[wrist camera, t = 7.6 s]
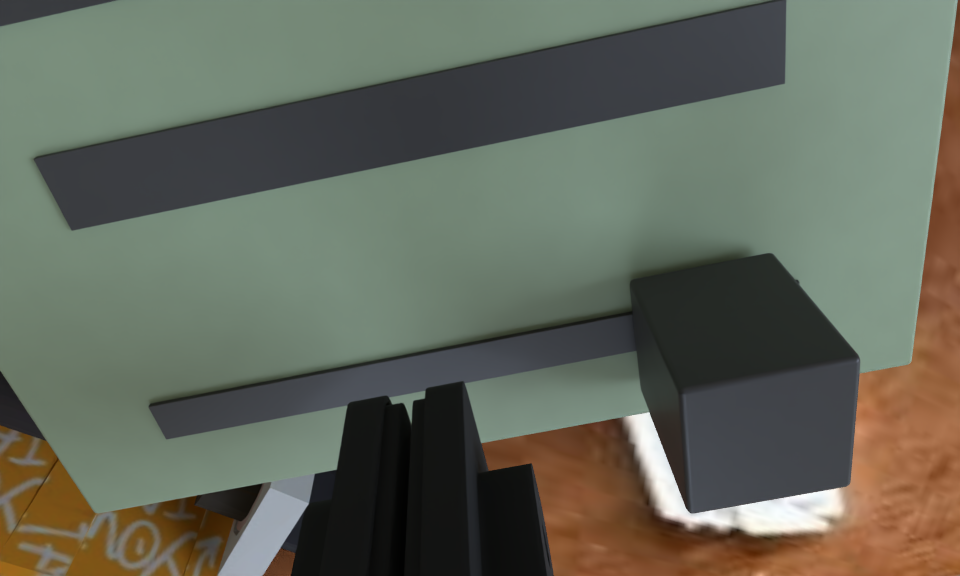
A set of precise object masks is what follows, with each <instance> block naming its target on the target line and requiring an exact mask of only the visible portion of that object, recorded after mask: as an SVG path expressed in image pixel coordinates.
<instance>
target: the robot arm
mask: <svg viewBox="0 0 960 576" xmlns="http://www.w3.org/2000/svg"><path fill="white" fill-rule="evenodd" d="M291 576H554V575H553V568H552V562H551V556H550V550H549V544H548V538H547V532H546V527H545V522H544V516H543V511H542V506H541V502H540V497H539V492H538V488H537V483H536V479H535V475H534V470H533V466H532V464H526V465H520V466H515V467H509V468H503V469H498V470H492V471H488V467H487V463H486V459H485V456H484V452H483V448H482V444H481V441H480V437H479V433H478V429H477V426H476V422H475V418H474V414H473V411H472V407H471V403H470V399H469V396H468V392H467V388H466V385H465V383H464V381H460V382H455V383H450V384H444V385H439V386H434V387H428V388H426V390H425V398H424V399H419V400H414V401H413V405H412V425H411V422H410V419H409V415H408V412H407V409H406V407H405V405H404V403H397V404H392V403H391V400H390V398H389V397H388V396H386V395H385V396H380V397H375V398H369V399H364V400H359V401H353V402H350V403H349V404H348V406H347V410H346V416H345V422H344V428H343V434H342V440H341V446H340V452H339V458H338V464H337V470H336V476H335V482H334V489H333V495H332V499H330V500H324V501H319V502H313V503H309V505H308V506H307V507H306V509H305V512H304V516H303V519H302V524H301V529H300V534H299V539H298V544H297V549H296V554H295V559H294V564H293V568H292V573H291Z"/></svg>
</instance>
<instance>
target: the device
mask: <svg viewBox="0 0 960 576" xmlns="http://www.w3.org/2000/svg"><path fill="white" fill-rule="evenodd" d="M335 476H336V470H332V471H327V472H321V473H316V474H310V475H305V476H299V477H294V478H289V479H283V480H278V481H272V482H267V483H261V484H256V485H251V486H245V487H240V488H234V489H229V490H223V491H218V492H212V493H207V494H202V495H196V496H191V497H185V498H180V499H174V500H169V501H164V502H158V503H153V504H147V505H142V506H136V507H131V508H126V509H120V510H115V511H109V512H104V513H95V512H94V511H93V510H92V508H91V507H90V505H89V504H88V502H87V501H86V499H85V498H84V496H83V495H82V493H81V492H80V490H79V489H78V487H77V486H76V484H75V483H74V481H73V480H72V478H71V477H70V475H69V474H68V472H67V471H66V469H65V468H64V466H63V465H62V463H61V462H60V460H59V459H58V457H57V456H56V454H55V453H54V451H53V450H52V448H51V447H50V445H49V443H48V442H47V440H46V439H45V437H44V436H43V434H42V433H41V431H40V430H39V428H38V427H37V425H36V424H35V422H34V421H33V419H32V418H31V416H30V415H29V413H28V412H27V410H26V409H25V407H24V406H23V404H22V403H21V401H20V400H19V398H18V397H17V395H16V394H15V392H14V391H13V389H12V388H11V386H10V385H9V383H8V382H7V380H6V379H5V377H4V376H3V374H2V373H1V371H0V576H262V575H263V574H264V572H265V571H266V569H267V568H268V566H269V565H270V563H271V561H272V560H273V558H274V557H275V555H276V554H277V552H278V551H279V549H280V548H283V549H286V550H288V551H291V552H294V553H296V549H297V544H298V539H299V534H300V529H301V524H302V519H303V516H304V512H305V509H306V507H307V506H308V505H309V503H313V502H319V501H324V500H330V499H332V495H333V489H334V482H335Z"/></svg>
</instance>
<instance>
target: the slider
mask: <svg viewBox="0 0 960 576" xmlns="http://www.w3.org/2000/svg"><path fill="white" fill-rule="evenodd" d="M630 294H631V303H632V313H633V322H634V331H635V341H636V350H637V359H638V368H639V378H640V387H641V391H642V394H643V396H644V399H645V402H646V404H647V407H648V409H649V412H650V415H651V417H652V420H653V423H654V425H655V428H656V430H657V433H658V436H659V438H660V441H661V444H662V446H663V449H664V451H665V454H666V457H667V459H668V462H669V464H670V467H671V470H672V472H673V475H674V478H675V480H676V483H677V485H678V488H679V491H680V493H681V496H682V499H683V501H684V504H685V506H686V509H687V510H688V511H689V512H690V513H699V512H705V511H710V510H716V509H722V508H727V507H733V506H739V505H744V504H750V503H756V502H761V501H767V500H773V499H778V498H784V497H790V496H795V495H801V494H807V493H812V492H818V491H824V490H829V489H835V488H841V487H846V486H848V485H849V484H850V480H851V468H852V456H853V444H854V433H855V421H856V409H857V397H858V385H859V373H860V357H859V355H858V354H857V353H856V352H855V350H854V349H853V348H852V347H851V346H850V344H849V343H848V342H847V341H846V340H845V339H844V337H843V336H842V335H841V334H840V333H839V331H838V330H837V329H836V328H835V327H834V325H833V324H832V323H831V322H830V321H829V319H828V318H827V317H826V316H825V315H824V313H823V312H822V311H821V310H820V309H819V308H818V306H817V305H816V304H815V303H814V302H813V300H812V299H811V298H810V297H809V296H808V294H807V293H806V292H805V291H804V290H803V288H802V287H801V286H800V285H799V284H798V283H797V281H796V280H795V279H794V278H793V277H792V275H791V274H790V273H789V272H788V271H787V269H786V268H785V267H784V266H783V265H782V263H781V262H780V261H779V260H778V259H777V257H776V256H775V255H774V254H772V253H765V254H760V255H755V256H750V257H745V258H739V259H734V260H729V261H724V262H719V263H714V264H708V265H703V266H698V267H693V268H688V269H683V270H678V271H672V272H667V273H662V274H657V275H652V276H647V277H642V278H636V279H633V280H631V282H630Z"/></svg>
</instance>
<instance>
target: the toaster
mask: <svg viewBox="0 0 960 576" xmlns="http://www.w3.org/2000/svg"><path fill="white" fill-rule="evenodd" d="M957 1H958V0H0V371H1V373H2V374H3V376H4V377H5V379H6V380H7V382H8V383H9V385H10V386H11V388H12V389H13V391H14V392H15V394H16V395H17V397H18V398H19V400H20V401H21V403H22V404H23V406H24V407H25V409H26V410H27V412H28V413H29V415H30V416H31V418H32V419H33V421H34V422H35V424H36V425H37V427H38V428H39V430H40V431H41V433H42V434H43V436H44V437H45V439H46V440H47V442H48V443H49V445H50V447H51V448H52V450H53V451H54V453H55V454H56V456H57V457H58V459H59V460H60V462H61V463H62V465H63V466H64V468H65V469H66V471H67V472H68V474H69V475H70V477H71V478H72V480H73V481H74V483H75V484H76V486H77V487H78V489H79V490H80V492H81V493H82V495H83V496H84V498H85V499H86V501H87V502H88V504H89V505H90V507H91V508H92V510H93V511H94V512H95V513H104V512H109V511H115V510H120V509H126V508H131V507H136V506H142V505H147V504H153V503H158V502H164V501H169V500H174V499H180V498H185V497H191V496H196V495H202V494H207V493H212V492H218V491H223V490H229V489H234V488H240V487H245V486H251V485H256V484H261V483H267V482H272V481H278V480H283V479H289V478H294V477H299V476H305V475H310V474H316V473H321V472H327V471H332V470H337V464H338V458H339V452H340V446H341V440H342V434H343V428H344V422H345V416H346V410H347V406H348V404H349V403H350V402H353V401H359V400H364V399H369V398H375V397H380V396H385V395H386V396H388V397H389V398H390V400H391V403H392V404H397V403H404V405H405V407H406V409H407V412H408V415H409V419H410V422H411V425H412V405H413V401H414V400H419V399H424V398H425V390H426V388H428V387H434V386H439V385H444V384H450V383H455V382H460V381H464V383H465V385H466V388H467V392H468V396H469V399H470V403H471V407H472V411H473V414H474V418H475V422H476V426H477V429H478V433H479V437H480V441H481V443H484V442H489V441H495V440H500V439H506V438H511V437H517V436H522V435H527V434H533V433H538V432H544V431H549V430H555V429H560V428H566V427H571V426H576V425H582V424H587V423H593V422H598V421H604V420H609V419H614V418H620V417H625V416H631V415H636V414H642V413H647V412H649V409H648V407H647V404H646V402H645V399H644V396H643V394H642V391H641V387H640V378H639V368H638V359H637V350H636V341H635V331H634V322H633V313H632V303H631V294H630V282H631V280H633V279H636V278H642V277H647V276H652V275H657V274H662V273H667V272H672V271H678V270H683V269H688V268H693V267H698V266H703V265H708V264H714V263H719V262H724V261H729V260H734V259H739V258H745V257H750V256H755V255H760V254H765V253H772V254H774V255H775V256H776V257H777V259H778V260H779V261H780V262H781V263H782V265H783V266H784V267H785V268H786V269H787V271H788V272H789V273H790V274H791V275H792V277H793V278H794V279H795V280H796V281H797V283H798V284H799V285H800V286H801V287H802V288H803V290H804V291H805V292H806V293H807V294H808V296H809V297H810V298H811V299H812V300H813V302H814V303H815V304H816V305H817V306H818V308H819V309H820V310H821V311H822V312H823V313H824V315H825V316H826V317H827V318H828V319H829V321H830V322H831V323H832V324H833V325H834V327H835V328H836V329H837V330H838V331H839V333H840V334H841V335H842V336H843V337H844V339H845V340H846V341H847V342H848V343H849V344H850V346H851V347H852V348H853V349H854V350H855V352H856V353H857V354H858V355H859V357H860V373H864V372H870V371H875V370H880V369H886V368H891V367H897V366H902V365H907V364H909V363H910V362H911V360H912V352H913V344H914V336H915V329H916V321H917V313H918V305H919V297H920V290H921V282H922V274H923V266H924V259H925V251H926V243H927V235H928V227H929V220H930V212H931V204H932V196H933V188H934V181H935V173H936V165H937V157H938V149H939V142H940V134H941V126H942V118H943V110H944V103H945V95H946V87H947V79H948V71H949V64H950V56H951V48H952V40H953V33H954V25H955V17H956V9H957Z"/></svg>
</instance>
